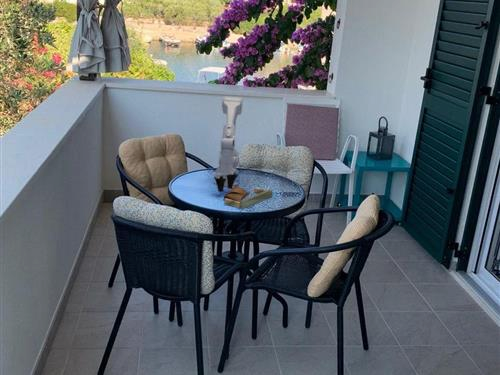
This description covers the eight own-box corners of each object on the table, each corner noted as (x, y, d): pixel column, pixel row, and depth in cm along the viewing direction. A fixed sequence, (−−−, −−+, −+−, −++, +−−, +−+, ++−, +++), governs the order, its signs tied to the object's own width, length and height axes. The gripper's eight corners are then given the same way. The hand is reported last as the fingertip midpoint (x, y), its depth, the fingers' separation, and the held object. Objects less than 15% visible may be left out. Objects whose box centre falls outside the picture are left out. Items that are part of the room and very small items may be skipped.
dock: (224, 204, 259) (224, 196, 258) (254, 192, 280) (255, 185, 279) (242, 209, 254) (242, 201, 253) (272, 196, 274) (272, 189, 273)
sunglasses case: (241, 203, 262) (234, 190, 261) (228, 209, 264) (221, 196, 263) (250, 192, 279) (244, 180, 278) (238, 198, 281) (232, 186, 280)
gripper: (224, 166, 261) (222, 195, 265) (242, 161, 273) (240, 188, 277) (212, 163, 265) (210, 191, 269) (230, 158, 277) (229, 185, 281)
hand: (225, 189), depth 273 cm, fingers open, 7 cm apart
